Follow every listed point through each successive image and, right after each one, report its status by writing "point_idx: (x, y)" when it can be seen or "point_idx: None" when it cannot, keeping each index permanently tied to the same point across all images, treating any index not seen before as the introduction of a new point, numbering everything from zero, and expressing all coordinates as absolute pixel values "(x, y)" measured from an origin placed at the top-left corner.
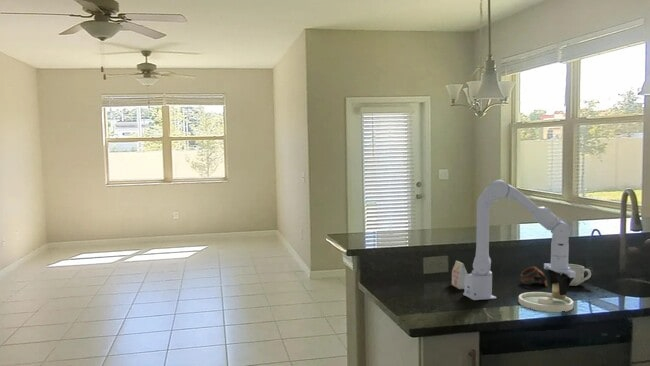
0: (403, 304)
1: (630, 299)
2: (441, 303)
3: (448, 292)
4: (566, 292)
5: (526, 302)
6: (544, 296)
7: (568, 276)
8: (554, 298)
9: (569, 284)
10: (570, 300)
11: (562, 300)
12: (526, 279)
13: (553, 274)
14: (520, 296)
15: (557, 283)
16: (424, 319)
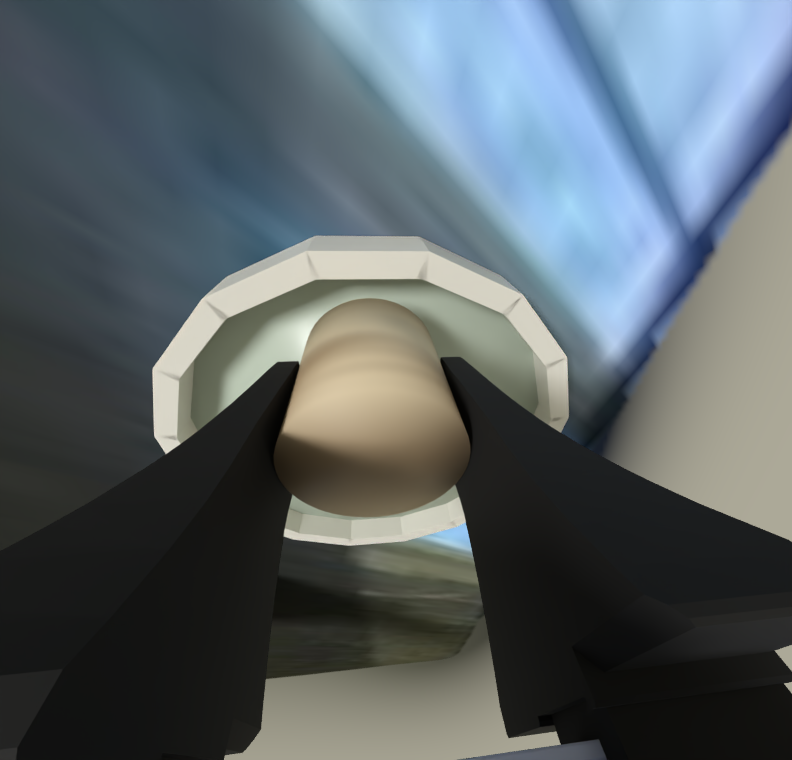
0: (300, 665)
1: None
2: (298, 637)
3: None
4: (475, 373)
5: (402, 537)
6: (207, 366)
7: (739, 690)
8: (280, 320)
9: (564, 439)
10: (488, 306)
11: (360, 291)
12: None
13: (232, 672)
14: (296, 534)
15: (309, 456)
16: (416, 652)
